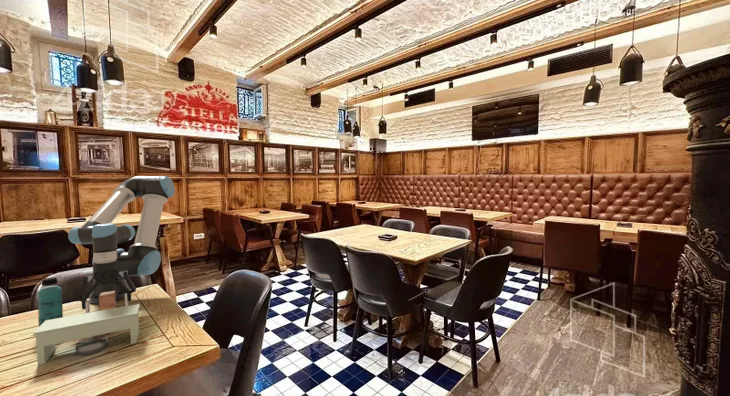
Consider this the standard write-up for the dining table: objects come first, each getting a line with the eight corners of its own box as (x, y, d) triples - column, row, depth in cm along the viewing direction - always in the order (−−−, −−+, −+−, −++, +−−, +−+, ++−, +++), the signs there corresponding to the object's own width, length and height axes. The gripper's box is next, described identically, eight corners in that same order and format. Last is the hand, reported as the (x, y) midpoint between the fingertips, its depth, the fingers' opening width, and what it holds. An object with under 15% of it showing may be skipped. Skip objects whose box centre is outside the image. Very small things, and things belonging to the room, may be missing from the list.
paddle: (102, 316, 125) (101, 292, 125) (116, 313, 127) (115, 290, 127) (89, 339, 106) (88, 312, 106) (106, 336, 108) (104, 309, 108)
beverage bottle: (39, 330, 113) (36, 278, 112) (63, 324, 118) (61, 274, 117) (38, 336, 108) (35, 282, 108) (64, 329, 113) (61, 278, 112)
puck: (79, 347, 101) (78, 339, 101) (110, 341, 105) (109, 332, 105) (72, 359, 94) (72, 350, 94) (105, 351, 99) (105, 342, 99)
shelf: (47, 350, 99) (45, 320, 99) (140, 330, 113) (139, 303, 112) (35, 366, 91) (33, 333, 90) (138, 342, 104) (136, 313, 104)
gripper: (62, 267, 114) (65, 323, 115) (141, 259, 127) (143, 309, 127) (68, 263, 120) (71, 316, 121) (142, 255, 133) (144, 303, 134)
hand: (108, 312), depth 124 cm, fingers open, 12 cm apart
